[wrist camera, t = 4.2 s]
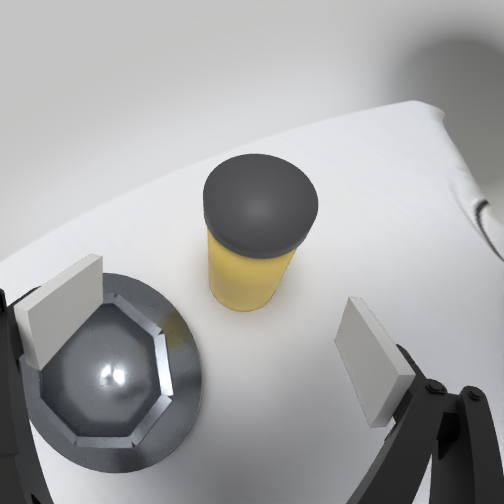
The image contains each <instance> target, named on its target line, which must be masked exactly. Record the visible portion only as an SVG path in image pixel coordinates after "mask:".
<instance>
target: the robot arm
mask: <svg viewBox="0 0 504 504" xmlns="http://www.w3.org/2000/svg"><path fill="white" fill-rule="evenodd" d="M102 303H103V279H102V256H99V255H94V254H89V255H88V256H86V257H85V258H83V259H81V260H80V261H78V262H77V263H75V264H74V265H72V266H71V267H69V268H68V269H66V270H65V271H63V272H62V273H60V274H59V275H57V276H56V277H54V278H53V279H51V280H50V281H48V282H47V283H45V284H44V285H42V286H39V287H36V288H33V289H32V290H30V291H29V292H27V293H26V294H24V295H23V296H22V297H21V298H19V299H17V300H16V301H15V302H13V303H12V304H10V305H9V306H8V307H7V305H6V299H5V293H4V291H3V290H2V289H0V504H54V503H53V500H52V498H51V496H50V493H49V490H48V487H47V484H46V481H45V478H44V475H43V472H42V469H41V466H40V462H39V459H38V455H37V451H36V448H35V444H34V440H33V435H32V431H31V426H30V422H29V417H28V411H27V406H26V400H25V393H24V386H23V379H22V370H21V363H20V360H19V358H20V357H21V356H22V355H23V354H24V355H25V359H26V363H27V365H29V366H31V367H33V368H36V369H38V370H40V371H41V370H42V368H43V367H44V366H45V365H46V364H47V363H48V362H49V360H50V359H51V358H52V357H53V356H54V355H55V354H56V352H57V351H58V350H59V349H60V348H61V347H62V346H63V345H64V344H65V342H66V341H67V340H68V339H69V338H70V337H71V336H72V335H73V334H74V333H75V332H76V330H77V329H78V328H79V327H80V326H81V325H82V324H83V323H84V322H85V321H86V320H87V319H88V318H89V317H90V316H91V314H92V313H93V312H94V311H95V310H96V309H97V308H98V307H99V306H100V305H101V304H102ZM335 343H336V345H337V348H338V350H339V352H340V355H341V357H342V360H343V362H344V364H345V367H346V369H347V372H348V374H349V376H350V379H351V381H352V384H353V386H354V389H355V391H356V394H357V396H358V399H359V401H360V404H361V406H362V409H363V411H364V414H365V416H366V419H367V421H368V424H369V426H370V428H372V427H386V426H387V424H388V423H389V421H390V420H391V418H392V416H393V418H394V420H395V422H396V423H395V425H394V427H393V428H392V430H391V431H390V433H389V434H388V436H387V437H386V438H385V440H384V441H385V443H384V445H383V446H382V448H381V450H380V452H379V453H378V455H377V457H376V459H375V460H374V462H373V464H372V465H371V467H370V469H369V470H368V472H367V473H366V475H365V477H364V478H363V480H362V481H361V483H360V484H359V486H358V487H357V489H356V490H355V492H354V493H353V495H352V496H351V497H350V499H349V500H348V502H347V503H346V504H412V503H413V500H414V498H415V496H416V493H417V491H418V489H419V486H420V484H421V481H422V479H423V476H424V473H425V471H426V468H427V465H428V462H429V459H430V456H431V454H432V468H431V485H430V497H429V504H504V474H503V468H502V462H501V456H500V451H499V446H498V441H497V436H496V432H495V427H494V423H493V419H492V415H491V412H490V408H489V404H488V401H487V398H486V396H485V394H484V393H483V392H482V390H480V389H479V388H477V387H473V386H465V387H464V388H463V389H462V391H461V393H460V394H459V395H455V394H449V393H447V389H446V388H445V386H444V385H442V384H441V383H440V382H438V381H436V380H433V379H426V377H425V376H424V374H423V373H422V372H421V370H420V369H419V367H418V366H417V365H416V364H415V362H414V360H413V359H412V358H411V356H410V355H409V353H408V352H407V351H406V350H405V349H404V348H403V347H401V346H400V345H399V344H395V343H394V342H393V341H392V339H391V338H390V336H389V335H388V334H387V332H386V331H385V329H384V328H383V327H382V325H381V324H380V323H379V321H378V320H377V318H376V317H375V316H374V314H373V313H372V312H371V310H370V309H369V308H368V306H367V305H366V304H365V302H364V301H363V300H362V298H354V297H349V298H348V301H347V305H346V308H345V311H344V314H343V317H342V320H341V323H340V326H339V329H338V332H337V335H336V338H335Z"/></svg>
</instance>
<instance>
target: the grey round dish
mask: <svg viewBox="0 0 504 504" xmlns="http://www.w3.org/2000/svg"><path fill="white" fill-rule="evenodd" d="M102 279H103V303H102V304H101V305H100V306H99V307H98V308H97V309H96V310H95V311H94V312H93V313H92V314H91V316H90V317H89V318H88V319H87V320H86V321H85V322H84V323H83V324H82V325H81V326H80V327H79V328H78V329H77V330H76V332H75V333H74V334H73V335H72V336H71V337H70V338H69V339H68V340H67V341H66V342H65V344H64V345H63V346H62V347H61V348H60V349H59V350H58V351H57V352H56V354H55V355H54V356H53V357H52V358H51V359H50V360H49V362H48V363H47V364H46V365H45V366H44V367H43V368H42V370H41V371H40V370H38V369H36V368H33V367H31V366H29V365H27V363H26V359H25V355H24V354H23V355H22V356H21V357H20V358H19V360H20V363H21V370H22V379H23V386H24V393H25V400H26V406H27V411H28V417H29V419H30V420H31V422H32V424H33V425H34V427H35V428H36V430H37V431H38V432H39V434H40V435H41V436H42V437H43V439H44V440H45V441H46V442H47V443H48V444H49V445H50V446H51V447H52V448H53V449H54V450H56V451H57V452H58V453H60V454H61V455H62V456H64V457H65V458H67V459H68V460H70V461H72V462H74V463H76V464H78V465H80V466H83V467H85V468H88V469H91V470H95V471H99V472H106V473H128V472H133V471H138V470H141V469H144V468H147V467H149V466H152V465H153V464H155V463H157V462H159V461H161V460H162V459H164V458H165V457H166V456H167V455H169V454H170V453H171V452H172V451H174V449H175V448H176V447H177V446H178V445H179V444H180V443H181V442H182V441H183V439H184V438H185V436H186V435H187V433H188V432H189V430H190V429H191V427H192V425H193V422H194V420H195V418H196V416H197V412H198V409H199V406H200V401H201V395H202V369H201V362H200V357H199V353H198V349H197V347H196V344H195V341H194V339H193V336H192V334H191V332H190V330H189V328H188V326H187V324H186V322H185V321H184V319H183V318H182V316H181V315H180V313H179V312H178V311H177V310H176V308H175V307H174V306H173V305H172V304H171V303H170V302H169V301H168V300H167V299H166V298H165V297H164V296H163V295H161V294H160V293H159V292H158V291H156V290H155V289H153V288H152V287H150V286H149V285H147V284H145V283H143V282H141V281H139V280H136V279H133V278H131V277H128V276H124V275H119V274H112V273H102Z"/></svg>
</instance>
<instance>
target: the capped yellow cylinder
mask: <svg viewBox="0 0 504 504" xmlns="http://www.w3.org/2000/svg"><path fill="white" fill-rule="evenodd" d="M203 206H204V218H205V222H206V225H207V230H208V263H209V283H210V288H211V290H212V293H213V294H214V296H215V297H216V299H217V300H218V301H219V302H220V303H221V304H223V305H224V306H226V307H228V308H230V309H232V310H236V311H252V310H255V309H258V308H260V307H262V306H263V305H265V304H266V303H267V302H268V301H269V300H270V299H271V297H272V296H273V294H274V292H275V290H276V288H277V286H278V284H279V282H280V280H281V278H282V276H283V275H284V273H285V271H286V269H287V267H288V265H289V263H290V261H291V259H292V257H293V255H294V253H295V251H296V249H297V247H298V246H299V245H300V244H301V243H302V242H303V241H304V239H305V238H306V236H307V234H308V232H309V231H310V229H311V227H312V225H313V223H314V221H315V219H316V216H317V212H318V197H317V193H316V190H315V188H314V186H313V184H312V183H311V181H310V180H309V178H308V177H307V176H306V175H305V174H304V173H303V172H302V171H301V170H300V169H298V168H297V167H296V166H294V165H293V164H291V163H289V162H287V161H285V160H283V159H280V158H278V157H274V156H270V155H265V154H245V155H240V156H236V157H233V158H230V159H228V160H226V161H224V162H222V163H221V164H219V165H218V166H217V167H216V168H215V169H214V170H213V171H212V172H211V173H210V175H209V176H208V178H207V180H206V182H205V186H204V191H203Z"/></svg>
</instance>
